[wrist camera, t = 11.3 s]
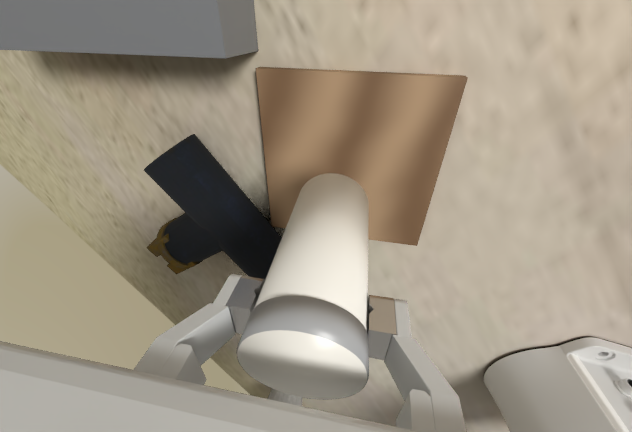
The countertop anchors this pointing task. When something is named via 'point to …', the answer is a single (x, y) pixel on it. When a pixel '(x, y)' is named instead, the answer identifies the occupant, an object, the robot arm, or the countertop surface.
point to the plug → (315, 298)
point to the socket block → (130, 27)
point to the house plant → (285, 397)
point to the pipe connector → (209, 214)
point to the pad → (358, 139)
